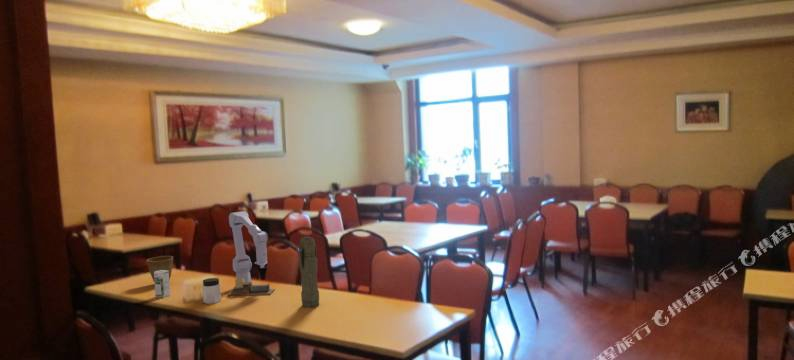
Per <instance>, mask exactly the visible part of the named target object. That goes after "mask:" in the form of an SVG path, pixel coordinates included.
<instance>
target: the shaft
mask: <svg viewBox="0 0 794 360" xmlns="http://www.w3.org/2000/svg"><path fill="white" fill-rule="evenodd" d="M233 288H234V290H243V287H236V285H235V286H234V287H233ZM270 289H271V287H270V283H267V284H254V285H253V284H252V285H249V292H260V291H267V292H268V291H269V290H270Z"/></svg>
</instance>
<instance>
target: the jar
mask: <svg viewBox="0 0 794 360" xmlns="http://www.w3.org/2000/svg"><path fill="white" fill-rule="evenodd" d="M221 297H222V296H221V284H220V278H218V277H210V278H205V279H203V280H202V300H203V303H205V304H206V305H210V304H214V305H215V304H218V303H220V302H221V301H222V298H221Z"/></svg>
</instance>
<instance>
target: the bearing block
mask: <svg viewBox="0 0 794 360" xmlns="http://www.w3.org/2000/svg"><path fill="white" fill-rule="evenodd" d="M252 283H253V282H252V281H249V282H245V283H244V284H243V290H234V287H233V288H232V289H231V290H230V292H229V293H228V294H226V297H248V296H249V295H253V296H271V295H272V294H274V292H275V289H276V288H270V290H269V291H268V292H267V291H260V292H249V285H253V284H252ZM249 297H250V296H249Z"/></svg>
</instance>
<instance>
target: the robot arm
mask: <svg viewBox="0 0 794 360" xmlns="http://www.w3.org/2000/svg"><path fill="white" fill-rule="evenodd" d="M249 217H250V216H249V213H248V211H247V210H244V211H237V212H236V211H235V212H230V213H229V215H228V223H229V227H230V228H231V230H232V235H233V244H234V249H235V257H234V258H233V259H232V270H233V271H234V272H235V275H236V279H237V278H244V279H245V282H249V281H251V280H252V277H251V272H250V271H251V270H252V266H253V263H252V261H251V258H250V256H249V255H247V254H246V251H245V245H244V238H243V237H244V236H243V231H242V228H243V226H245V227H246V228H247V232H248V233H249V234H250V236H251V237H252V241H253V242H254V246H255V254H256V255H255V257H256V261H255V262H254V265H256V266H257V268H256V269H257V271H258V274H259V277H260V281H264V280H266V277H267V276H266V274H267V270H268V269H269V268H268V252H267V250H268V249H267V242H268V240H269V235H268V233H267V232H266V231H262V229H261V228H259V226H258V225H257V224H254V223H253V222H252V221H251V219H250V218H249ZM251 282H252V281H251ZM252 285H253V282H252Z"/></svg>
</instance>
